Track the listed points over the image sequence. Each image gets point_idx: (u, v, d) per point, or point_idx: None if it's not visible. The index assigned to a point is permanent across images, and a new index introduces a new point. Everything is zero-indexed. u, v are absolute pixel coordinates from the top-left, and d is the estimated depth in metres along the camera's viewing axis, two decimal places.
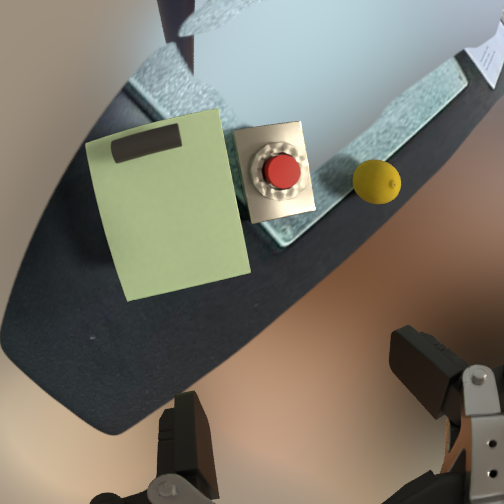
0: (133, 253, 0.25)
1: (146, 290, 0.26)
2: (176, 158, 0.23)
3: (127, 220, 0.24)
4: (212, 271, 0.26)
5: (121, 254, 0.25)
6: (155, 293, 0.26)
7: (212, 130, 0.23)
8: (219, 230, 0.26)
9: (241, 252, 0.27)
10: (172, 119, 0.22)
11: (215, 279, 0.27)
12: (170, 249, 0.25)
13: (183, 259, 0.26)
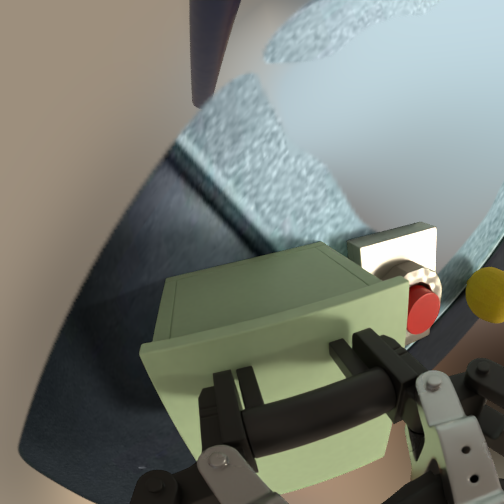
0: None
1: None
2: (331, 373, 0.13)
3: None
4: (344, 468, 0.16)
5: None
6: None
7: (394, 321, 0.12)
8: (366, 436, 0.15)
9: (382, 445, 0.16)
10: (334, 310, 0.12)
11: (344, 473, 0.16)
12: (298, 465, 0.15)
13: (312, 469, 0.15)
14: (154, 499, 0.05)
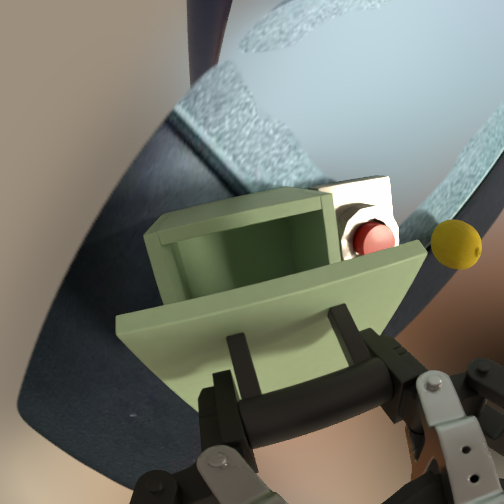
0: None
1: None
2: (324, 328, 0.12)
3: None
4: None
5: None
6: None
7: (399, 285, 0.12)
8: (340, 365, 0.18)
9: None
10: (344, 282, 0.10)
11: None
12: (274, 389, 0.18)
13: None
14: (154, 499, 0.05)
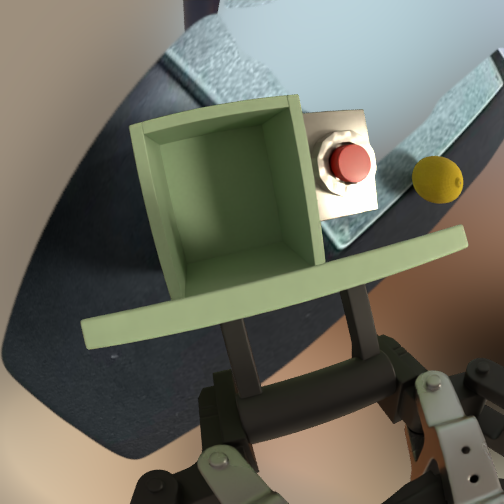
0: None
1: None
2: None
3: None
4: None
5: None
6: None
7: None
8: None
9: None
10: (377, 279, 0.08)
11: None
12: None
13: None
14: (155, 498, 0.05)
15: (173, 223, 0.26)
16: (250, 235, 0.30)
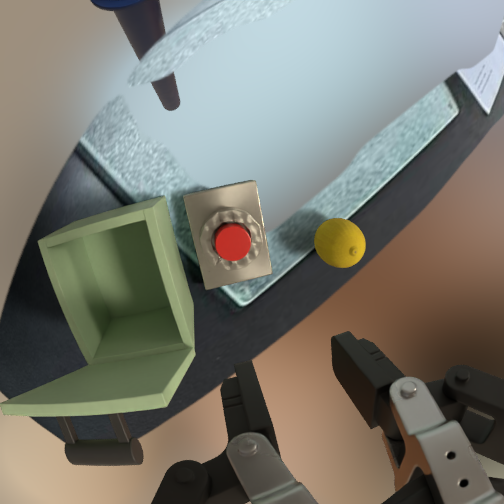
0: None
1: None
2: None
3: None
4: None
5: None
6: None
7: None
8: None
9: None
10: (100, 413, 0.12)
11: None
12: None
13: None
14: (182, 489, 0.06)
15: (91, 294, 0.30)
16: (156, 298, 0.35)
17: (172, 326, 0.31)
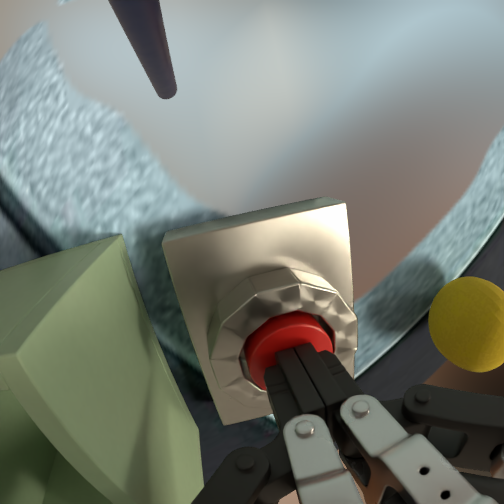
0: None
1: None
2: None
3: None
4: None
5: None
6: None
7: None
8: None
9: None
10: None
11: None
12: None
13: None
14: (239, 476, 0.06)
15: (11, 422, 0.11)
16: None
17: None
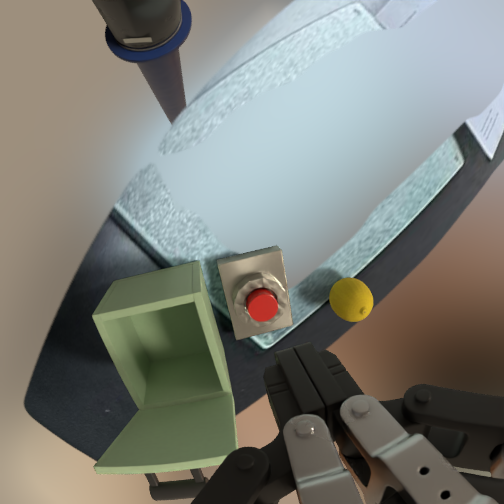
0: None
1: None
2: None
3: None
4: None
5: None
6: None
7: None
8: None
9: None
10: (188, 468, 0.17)
11: None
12: None
13: None
14: (240, 476, 0.06)
15: (135, 346, 0.35)
16: (192, 345, 0.40)
17: (210, 374, 0.35)
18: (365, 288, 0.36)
